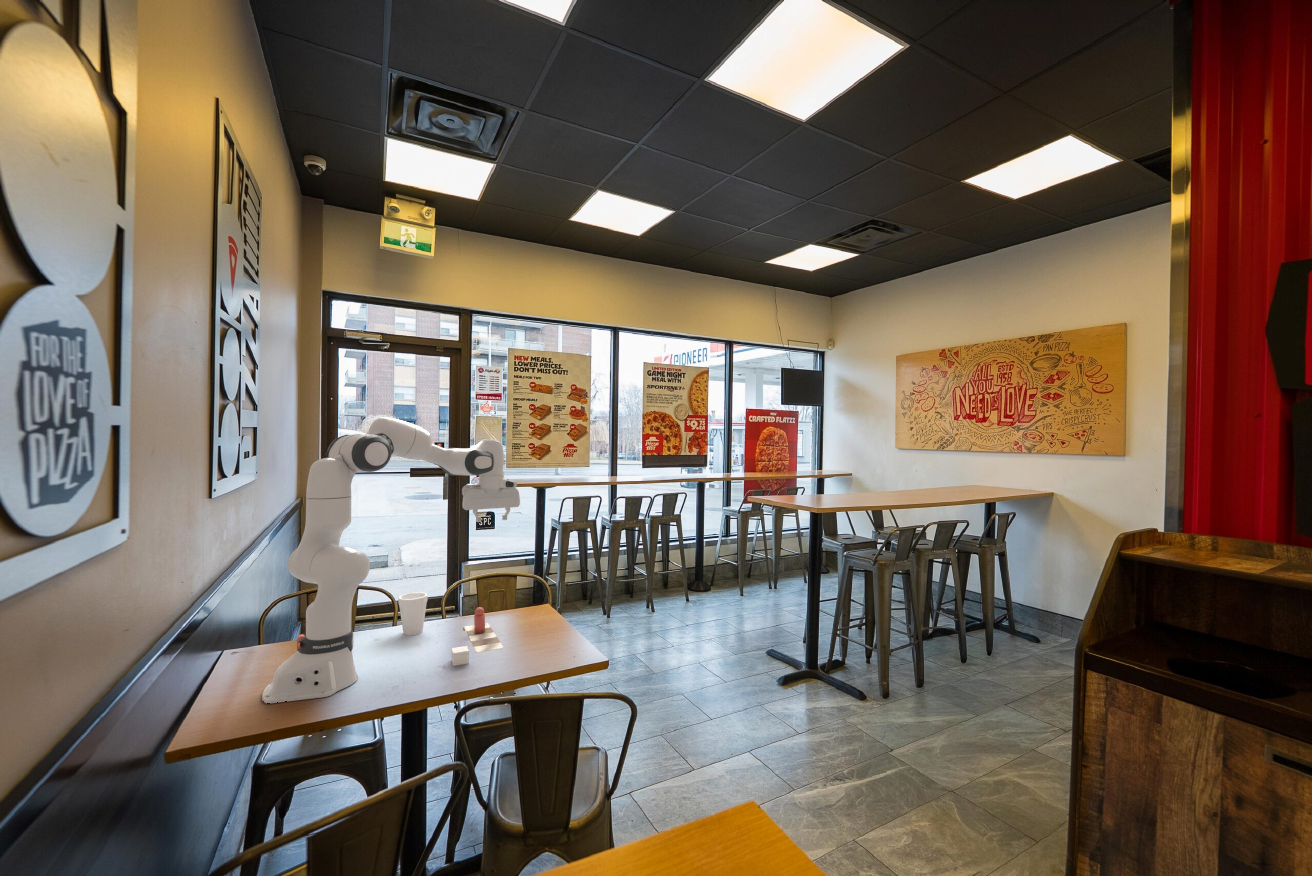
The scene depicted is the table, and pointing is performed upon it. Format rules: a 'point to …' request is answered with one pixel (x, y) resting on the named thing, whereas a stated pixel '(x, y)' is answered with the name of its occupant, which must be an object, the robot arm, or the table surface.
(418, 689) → the table surface
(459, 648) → the white cube
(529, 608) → the table surface
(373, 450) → the robot arm
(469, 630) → the board
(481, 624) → the red bottle
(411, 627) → the foam cup
